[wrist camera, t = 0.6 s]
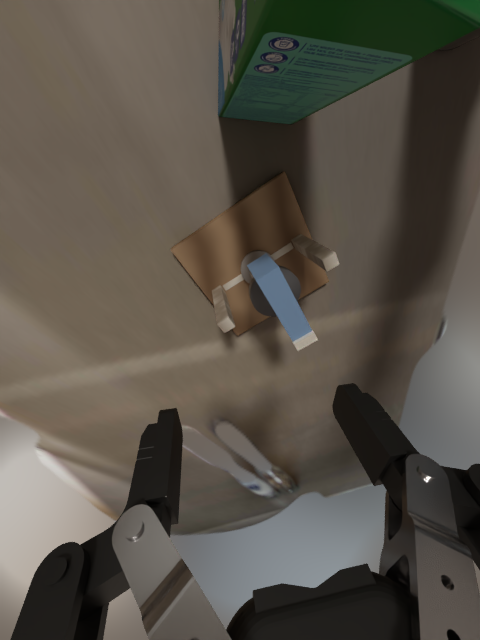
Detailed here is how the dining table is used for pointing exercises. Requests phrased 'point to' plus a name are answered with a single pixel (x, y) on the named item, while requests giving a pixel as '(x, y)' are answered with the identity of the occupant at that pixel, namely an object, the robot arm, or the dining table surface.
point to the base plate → (253, 252)
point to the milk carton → (323, 49)
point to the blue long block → (279, 298)
